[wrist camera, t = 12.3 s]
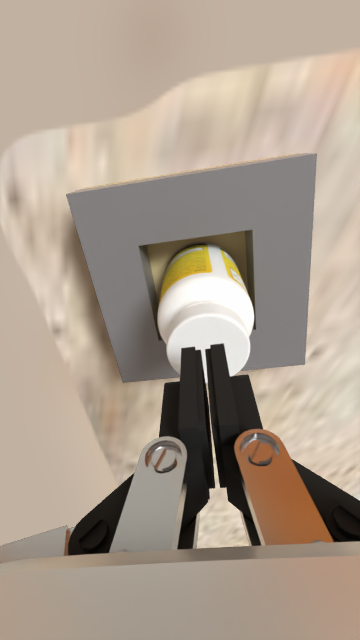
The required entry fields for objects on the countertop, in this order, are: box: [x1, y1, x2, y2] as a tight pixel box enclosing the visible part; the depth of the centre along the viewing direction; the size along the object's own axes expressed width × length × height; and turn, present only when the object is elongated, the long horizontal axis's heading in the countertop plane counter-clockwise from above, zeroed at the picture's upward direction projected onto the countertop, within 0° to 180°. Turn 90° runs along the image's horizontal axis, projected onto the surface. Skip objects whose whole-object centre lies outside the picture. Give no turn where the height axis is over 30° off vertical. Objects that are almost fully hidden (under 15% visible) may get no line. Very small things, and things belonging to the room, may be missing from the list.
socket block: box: [66, 154, 317, 383], centre depth 22 cm, size 14×14×4 cm
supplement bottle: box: [158, 242, 254, 383], centre depth 19 cm, size 5×5×10 cm
